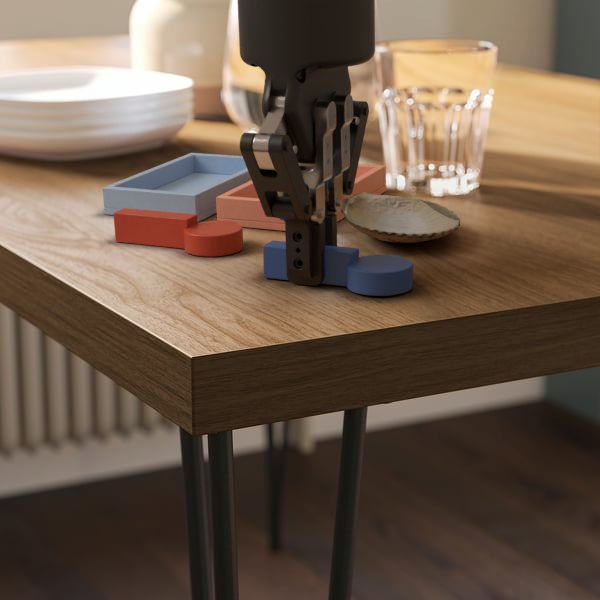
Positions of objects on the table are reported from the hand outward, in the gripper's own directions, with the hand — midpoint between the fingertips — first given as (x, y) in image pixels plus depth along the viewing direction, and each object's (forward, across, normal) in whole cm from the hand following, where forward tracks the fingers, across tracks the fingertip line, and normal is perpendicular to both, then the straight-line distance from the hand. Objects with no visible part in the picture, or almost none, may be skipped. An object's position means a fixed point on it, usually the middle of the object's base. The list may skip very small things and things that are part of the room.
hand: (312, 277), depth 70 cm
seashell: (0, +10, -2) cm, 10 cm away
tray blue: (0, +16, +17) cm, 23 cm away
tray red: (0, +16, +8) cm, 18 cm away
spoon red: (0, +4, +11) cm, 12 cm away
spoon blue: (0, 0, -2) cm, 2 cm away
